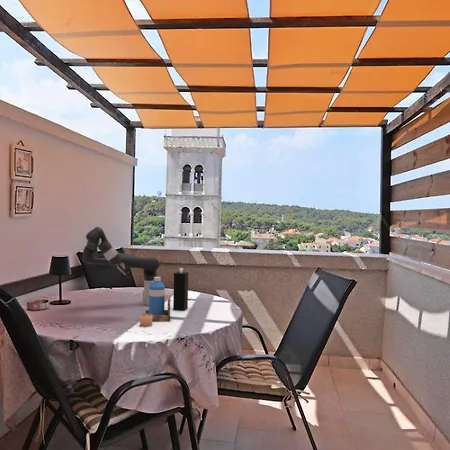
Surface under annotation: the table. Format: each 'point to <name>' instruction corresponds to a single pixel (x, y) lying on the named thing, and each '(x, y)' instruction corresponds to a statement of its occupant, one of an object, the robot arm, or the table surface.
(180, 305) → the black square pillar
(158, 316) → the brown wooden frame
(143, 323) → the clay pot
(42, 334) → the table surface
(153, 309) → the water bottle
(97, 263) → the robot arm
